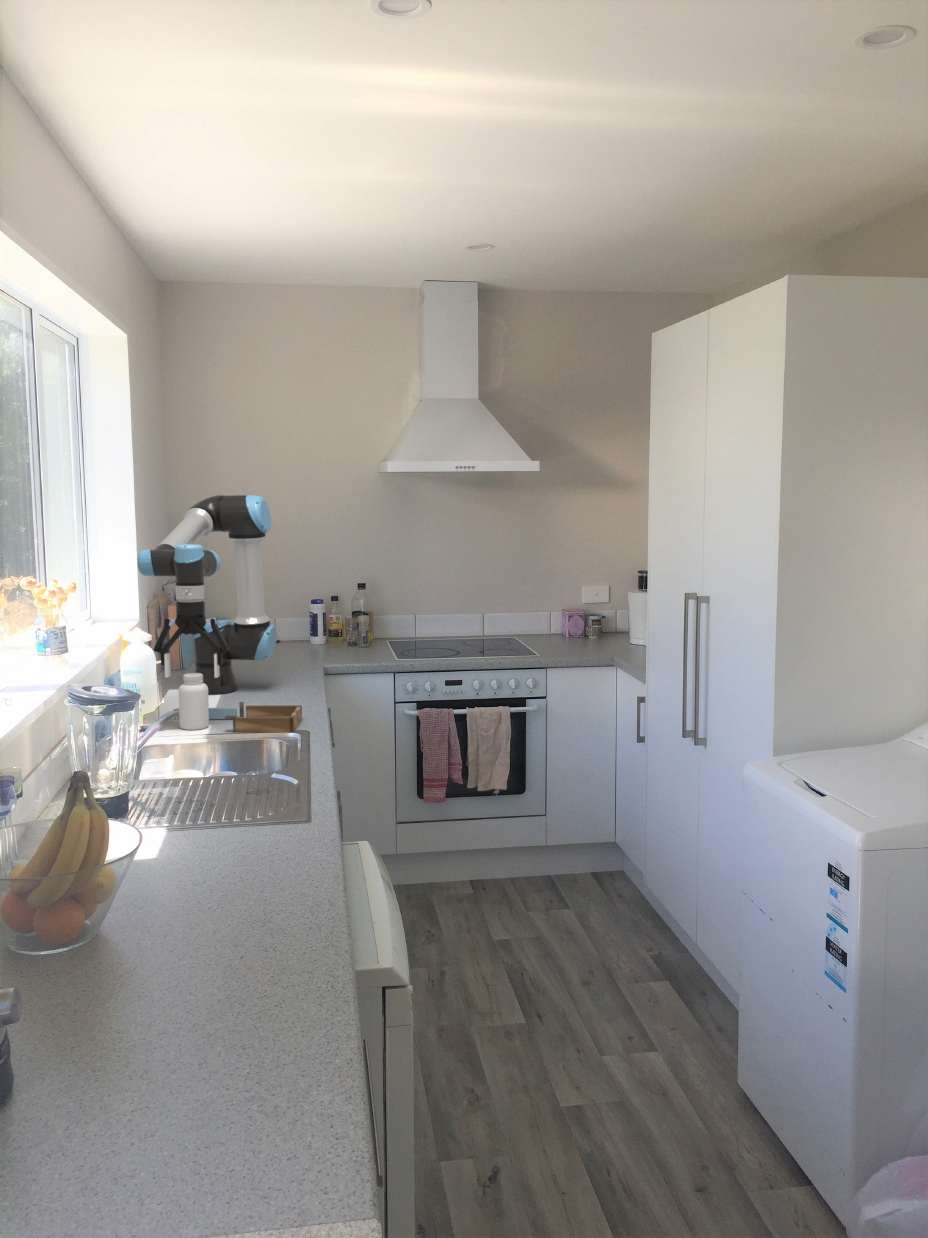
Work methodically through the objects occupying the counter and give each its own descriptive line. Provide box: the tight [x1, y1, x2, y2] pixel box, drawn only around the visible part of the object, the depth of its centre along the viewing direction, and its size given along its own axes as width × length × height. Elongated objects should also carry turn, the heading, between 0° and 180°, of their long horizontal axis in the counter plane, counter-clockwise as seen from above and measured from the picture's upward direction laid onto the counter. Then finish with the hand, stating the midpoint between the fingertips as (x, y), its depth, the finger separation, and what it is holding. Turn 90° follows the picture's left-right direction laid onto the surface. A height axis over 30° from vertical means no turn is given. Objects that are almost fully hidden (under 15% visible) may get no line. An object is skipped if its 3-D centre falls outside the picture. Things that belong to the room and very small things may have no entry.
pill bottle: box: [178, 672, 210, 731], centre depth 266 cm, size 8×8×15 cm
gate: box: [209, 707, 238, 720], centre depth 276 cm, size 14×1×3 cm, turn 91°
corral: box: [224, 701, 303, 733], centre depth 269 cm, size 16×19×5 cm
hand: (192, 676), depth 265 cm, fingers open, 13 cm apart
